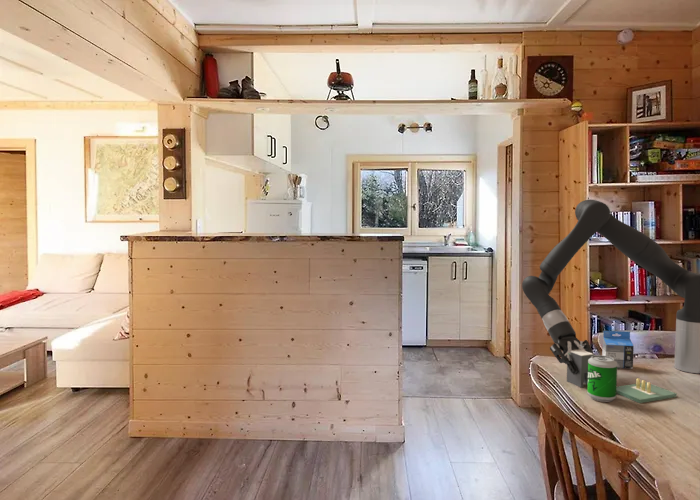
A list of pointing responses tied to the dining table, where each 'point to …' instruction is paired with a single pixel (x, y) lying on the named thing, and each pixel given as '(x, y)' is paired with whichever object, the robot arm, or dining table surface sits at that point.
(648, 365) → the dining table surface
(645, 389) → the board
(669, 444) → the dining table surface
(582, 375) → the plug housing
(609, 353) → the blue retail box
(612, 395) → the soda can
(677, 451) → the dining table surface
